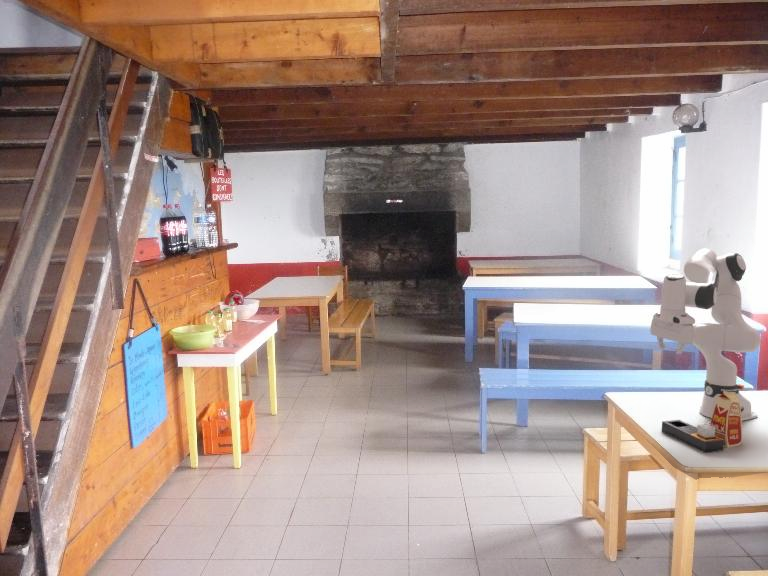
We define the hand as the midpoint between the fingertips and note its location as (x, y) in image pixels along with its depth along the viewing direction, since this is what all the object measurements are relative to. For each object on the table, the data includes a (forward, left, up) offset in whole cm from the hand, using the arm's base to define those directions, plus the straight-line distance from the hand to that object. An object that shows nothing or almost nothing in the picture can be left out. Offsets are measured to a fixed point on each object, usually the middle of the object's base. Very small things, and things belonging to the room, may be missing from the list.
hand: (670, 350), depth 237 cm
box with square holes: (+1, +15, -31) cm, 34 cm away
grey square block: (+1, +22, -31) cm, 38 cm away
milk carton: (-11, +19, -31) cm, 38 cm away
